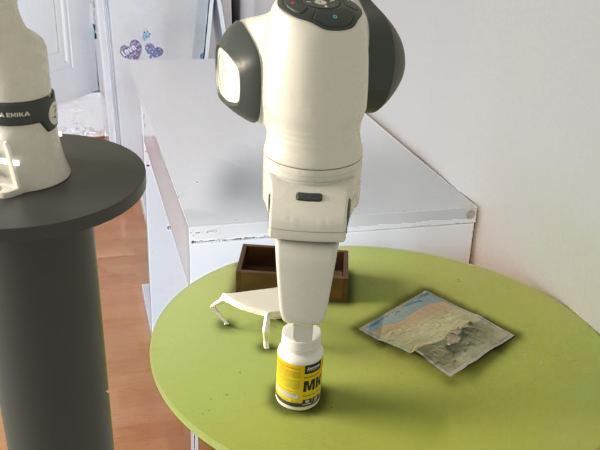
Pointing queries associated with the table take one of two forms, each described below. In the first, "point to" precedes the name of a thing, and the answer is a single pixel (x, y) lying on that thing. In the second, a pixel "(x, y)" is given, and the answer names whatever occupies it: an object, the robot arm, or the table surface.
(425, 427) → the table surface
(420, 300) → the topographic map
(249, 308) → the origami figure
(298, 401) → the supplement bottle
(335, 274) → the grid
